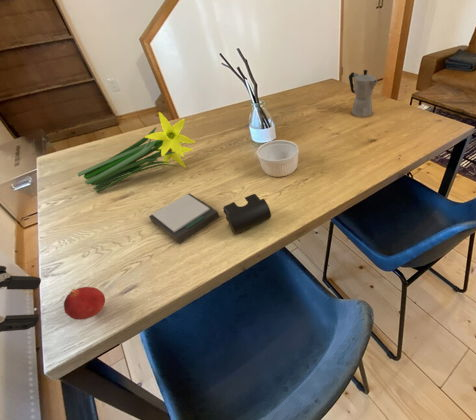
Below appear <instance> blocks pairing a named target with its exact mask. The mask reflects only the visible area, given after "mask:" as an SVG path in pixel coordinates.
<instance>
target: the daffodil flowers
mask: <svg viewBox="0 0 476 420" xmlns="http://www.w3.org/2000/svg"><path fill="white" fill-rule="evenodd" d="M158 118H159V122H160V125H161V128H162V131H157V132H155V131H156V129H157V126H155V127H154V128H153V129H152V130H151V131H150V132H149V133H147V135H145V136H144V137H142V138H141V139H140V140H138V141H137V142H135V143H133V144H132V145H130V146H128V147H127V148H125V149H123V150H122V151H119V152H118V153H116V154H115V155H113V156H110V157H109V158H108V159H106V160H104V161H101V162H99V163H97V164H94V165H92V166H90V167H88V168H85V169H83V170H81V171H79V172H77V176H78V177H82V176H83V178H84V179H85V180H84V184H86V185H87V186H89V185H91V186H94V187H93V190H96V191H95V193H97V194H98V193H101V192H103V191H105V190H106V189H109V188H110V187H112V186H114V185H116V184H117V183H119V182H121V181H123V180H125V179H127V178H128V177H130V176H131V175H132V176H133V175H134V174H137V173H141V172H143V171H146V170H149V169H153V168H158V167H161V166H162V167H164V166H171V167H172V166H173V167H176V165H174V164H170V163H169V162H170V160H171V159H172V160H174V161H175V162H176V163H177V164H178V165H180V166H181V167H183V168H185V169H186V168H187V166H186V164H185V162H184V160H183V159H182V158H185V153H189V152H192V151H194V148H192V147H188V146H182V143H183V144H195V143H196V141H195V140H193V139H192V138H189V136H186V135H184V134H182V133H181V131H182V130H183V128H184V127H185V126H184V125H185V121H186V118H182V119H180V120H179V121H177V122H175V123H174V124H173V125H171V123H170V121H169V120H168V118H167V117H166V116H165V115H164V114H163V113H162V112H161V111H158ZM162 157H163V161H160V160H158V159H159V158H162Z"/></svg>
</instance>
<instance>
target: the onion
mask: <svg viewBox="0 0 476 420" xmlns="http://www.w3.org/2000/svg"><path fill="white" fill-rule="evenodd" d="M105 305H106V297H105V294H104V292H102V291H101V290H100V289H98V288H96V287H92V286H83V287H79V288H72V289H71V290H70V292H69V293H68V294H67V295H66V297H65V299H64V301H63V310H64V313H65V314H66V315H67V316H69V317H70V318H71V319H73V320H87V319H90V318H93V317H94V316H96V315H98V314H99V313H100V312H101V311H102V310H103V308H104V306H105Z"/></svg>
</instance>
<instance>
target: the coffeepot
mask: <svg viewBox="0 0 476 420" xmlns="http://www.w3.org/2000/svg"><path fill="white" fill-rule="evenodd" d="M348 81H349V86H350V91H351V93H353V94H355V98H354V100H353V103H352V109H351V114H352V115H353V116H355V117H357V118H367V117H370V116H372V114H373V102H372V100H373V99H372V95H373V93H374V89H375V86H376V85H377V84H378V83H379V81H378V80H377V76H375V75H373V74H368V70H367V69H363V73H362V74H359V73H356V72H352V71H351V73H350V74H349V75H348Z"/></svg>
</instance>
